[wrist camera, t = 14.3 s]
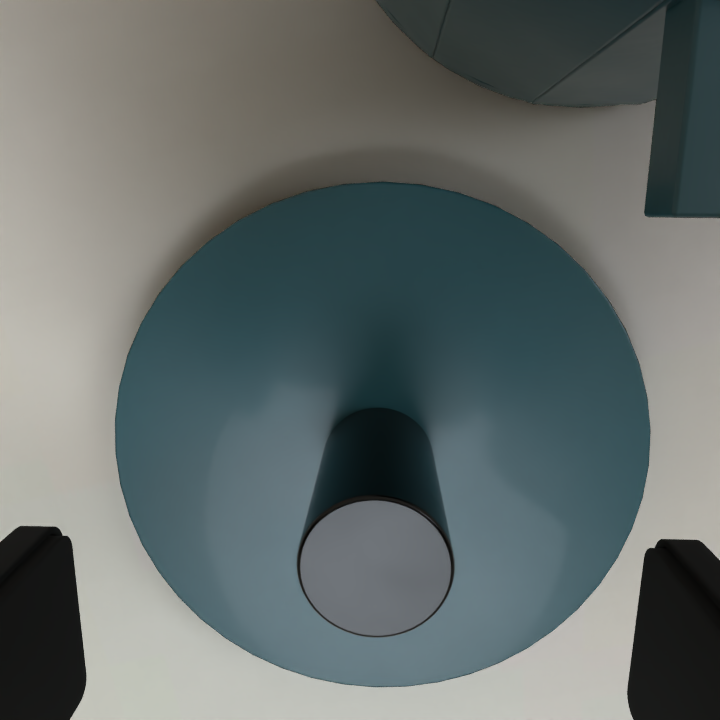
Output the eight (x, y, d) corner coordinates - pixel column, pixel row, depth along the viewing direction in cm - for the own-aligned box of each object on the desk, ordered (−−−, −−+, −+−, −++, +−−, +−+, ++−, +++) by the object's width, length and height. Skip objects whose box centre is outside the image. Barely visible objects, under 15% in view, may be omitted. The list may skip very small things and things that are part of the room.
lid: (662, 185, 16) (844, 167, 10) (607, 668, 20) (717, 892, 13) (111, 181, 17) (-60, 161, 10) (148, 652, 20) (35, 861, 14)
